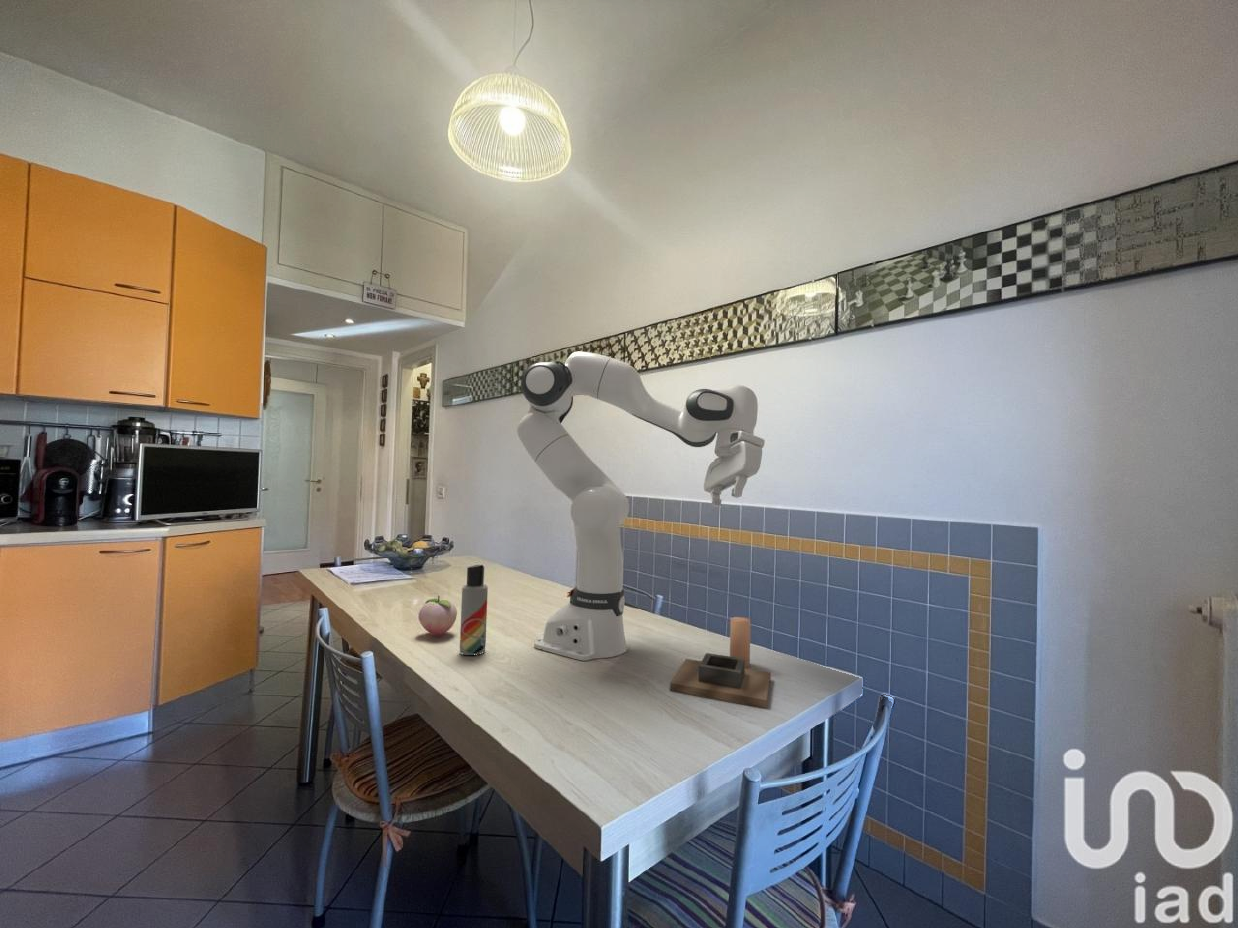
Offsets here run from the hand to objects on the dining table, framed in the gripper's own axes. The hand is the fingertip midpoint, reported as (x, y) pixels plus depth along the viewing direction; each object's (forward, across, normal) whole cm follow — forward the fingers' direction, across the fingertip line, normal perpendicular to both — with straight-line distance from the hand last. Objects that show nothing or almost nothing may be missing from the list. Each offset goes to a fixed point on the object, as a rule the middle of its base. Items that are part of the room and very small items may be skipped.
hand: (725, 501), depth 112 cm
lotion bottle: (+44, -28, -43) cm, 68 cm away
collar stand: (+38, +1, +5) cm, 39 cm away
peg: (+33, -8, +14) cm, 37 cm away
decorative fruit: (+43, -42, -52) cm, 79 cm away
